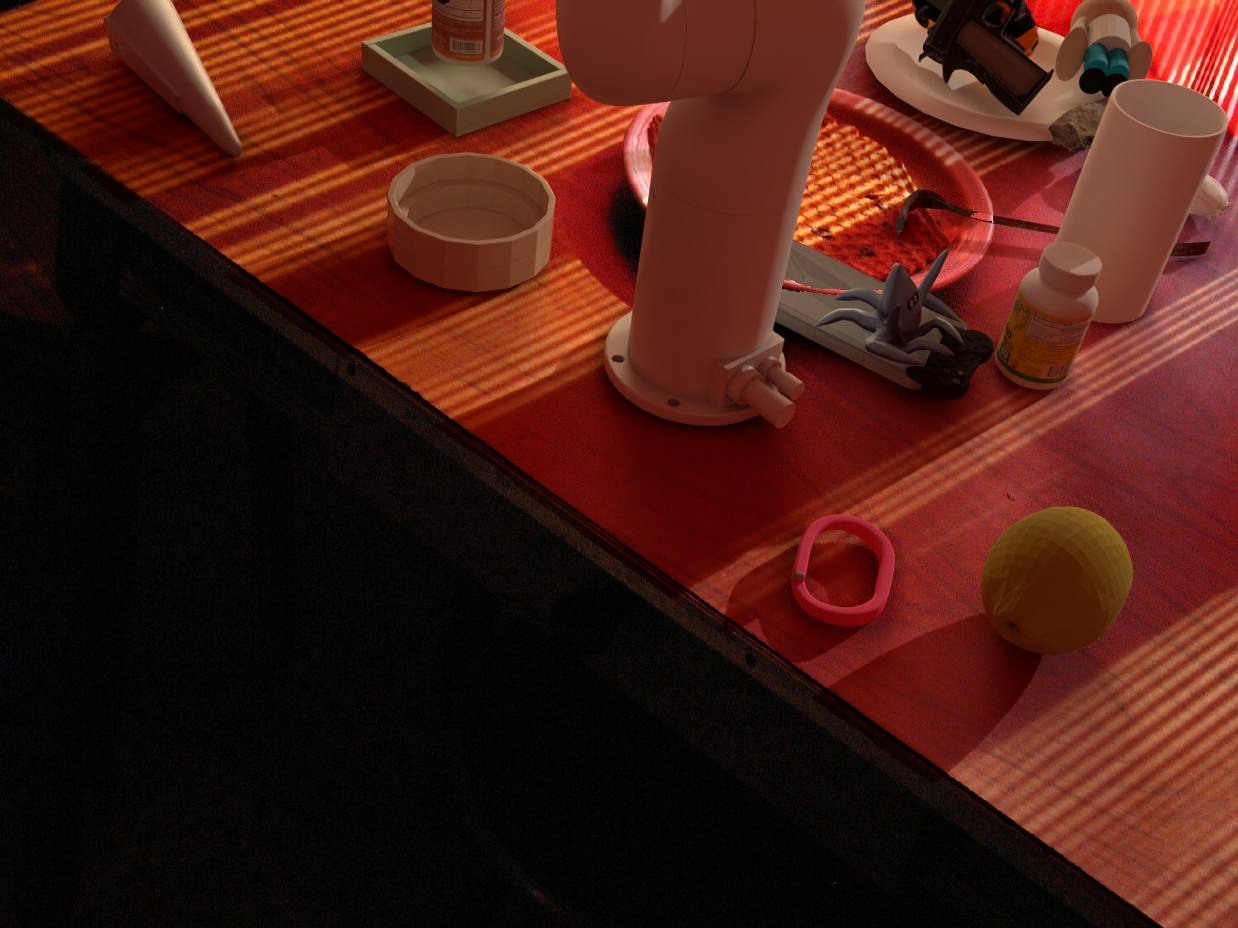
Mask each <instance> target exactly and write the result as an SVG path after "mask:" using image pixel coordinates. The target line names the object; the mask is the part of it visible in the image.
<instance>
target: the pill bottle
mask: <svg viewBox="0 0 1238 928" xmlns="http://www.w3.org/2000/svg"><path fill="white" fill-rule="evenodd" d="M505 17H506V0H450V1H449V3H446V4H441V3H440V2H438V1H437V0H431V22H432V49H433V51H434V53H435V54H436V55H437V56H438V57H439V58H440V59H442V60H444V61H446V62H448V63H451V64H454V65H459V66H465V67H478V66H483V65H487V64H490V63H492V62H494V61H495V60H497V59H498V58H499V57H500V55H501V54H502V51H503V44H504V27H505V20H506V18H505Z"/></svg>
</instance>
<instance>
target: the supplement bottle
mask: <svg viewBox="0 0 1238 928" xmlns="http://www.w3.org/2000/svg"><path fill="white" fill-rule="evenodd" d="M1101 270H1102V263H1101V260H1100V259H1099V258H1098V256H1097V255H1096V254H1094V253H1093V252H1092V251H1090V250H1088V249H1087V248H1085V247H1082V246H1080V245H1077V244H1073V243H1067V242H1056V243H1054V242H1052V243H1049V244H1048V245H1047V246H1045V248H1044V250H1043V251H1042V254H1041V256H1040V258H1039V261H1038V267H1035V268H1033V269H1031V270H1030V271H1028V272H1027V273H1025V275H1024V276H1023V278H1022V280H1021V282H1020V284H1019V286H1018V290H1017V291H1016V295H1015V297H1014V302H1013V304H1012V306H1011V310H1010V312H1009V315H1008V317H1007V320H1006V322H1005V325H1004V328H1003V330H1002V333H1001V336H1000V339H999V342H998V344H997V346H996V350H995V353H994V361H995V364H996V366H997V368H998V369H999V371H1000V372H1001V374H1002V375H1003V376H1004V377H1005V378H1007V379H1008V380H1009V381H1011V382H1012V383H1014V384H1016V385H1017V386H1021V387H1024V388H1027V389H1030V390H1034V391H1035V390H1036V391H1046V390H1052V389H1056V388H1057V387H1060V386H1061V385H1063V384H1064V382H1065V381H1066V380H1067V378H1068V377H1069V374H1070V373H1071V371H1072V367H1073V365H1074V363H1075V360H1076V358H1077V355H1078V353H1079V351H1080V348H1081V346H1082V343H1083V341H1084V338H1085V337H1086V334H1087V331H1088V330H1089V327H1090V325H1091V323H1092V321H1091V320H1092V318H1093V315H1094V313H1095V311H1096V308H1097V306H1098V293H1097V290H1096V288H1095V287H1094V285H1095V284H1096V283H1097V281H1098V277H1099V275H1100V272H1101Z"/></svg>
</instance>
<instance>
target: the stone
mask: <svg viewBox="0 0 1238 928" xmlns="http://www.w3.org/2000/svg"><path fill="white" fill-rule="evenodd" d="M1109 98H1110V97H1105V98H1103V99H1102V100H1100V101H1099V100H1098V101H1095V102H1093V103H1090V104H1089V103H1087V104H1085V105H1078V106H1077V107H1075V108H1074V109H1071V110H1068V111H1067V112H1066V113H1064V114H1063V115H1062V116H1061V117H1059V118H1058V119H1057V120H1056V121H1054V122H1053V123H1052V124H1051V125H1050V127H1049V128H1048V130H1049V131H1050V132H1051V135H1052V137H1053V142H1052V143H1051V145H1055V146H1059V147H1064V148H1066V149H1067V151H1068V152H1071V153H1078V152H1082V151H1086V150H1089V149H1090V148H1091V145H1092V142H1093V140H1094V137H1095V134H1096V132H1097V129H1098V127H1099V124H1100V121H1101V119H1102V116H1103V113H1104V111H1105V108H1106V106H1107V103H1108V100H1109Z"/></svg>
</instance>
